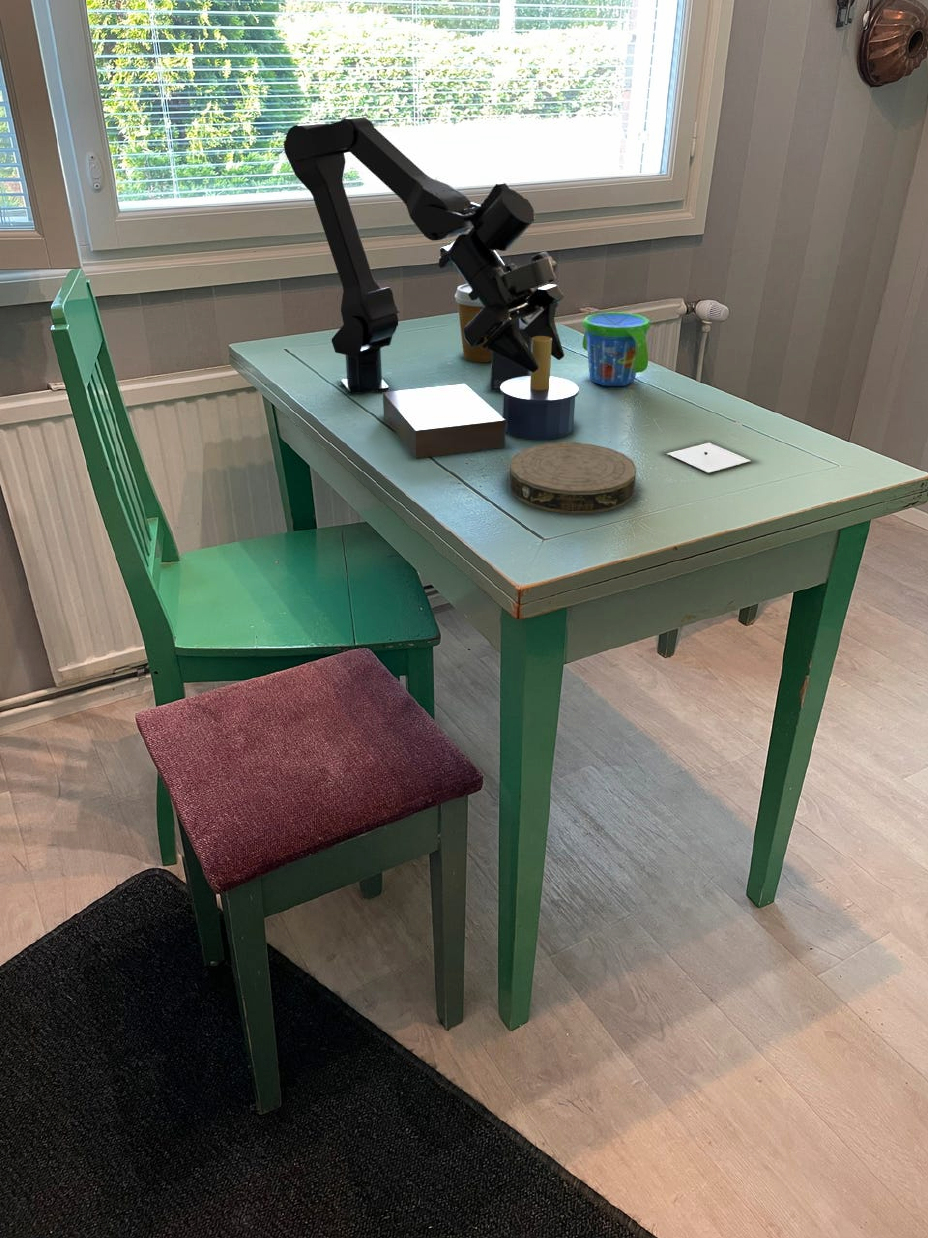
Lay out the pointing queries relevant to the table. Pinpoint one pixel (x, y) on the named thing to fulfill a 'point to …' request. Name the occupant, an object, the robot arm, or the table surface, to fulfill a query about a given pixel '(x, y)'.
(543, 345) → the lid
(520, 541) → the table surface
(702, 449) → the coaster
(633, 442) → the table surface
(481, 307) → the disposable coffee cup
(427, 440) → the block
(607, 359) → the snack cup
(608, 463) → the brown flat disc
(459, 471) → the table surface
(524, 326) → the small box
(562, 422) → the tin
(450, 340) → the table surface
